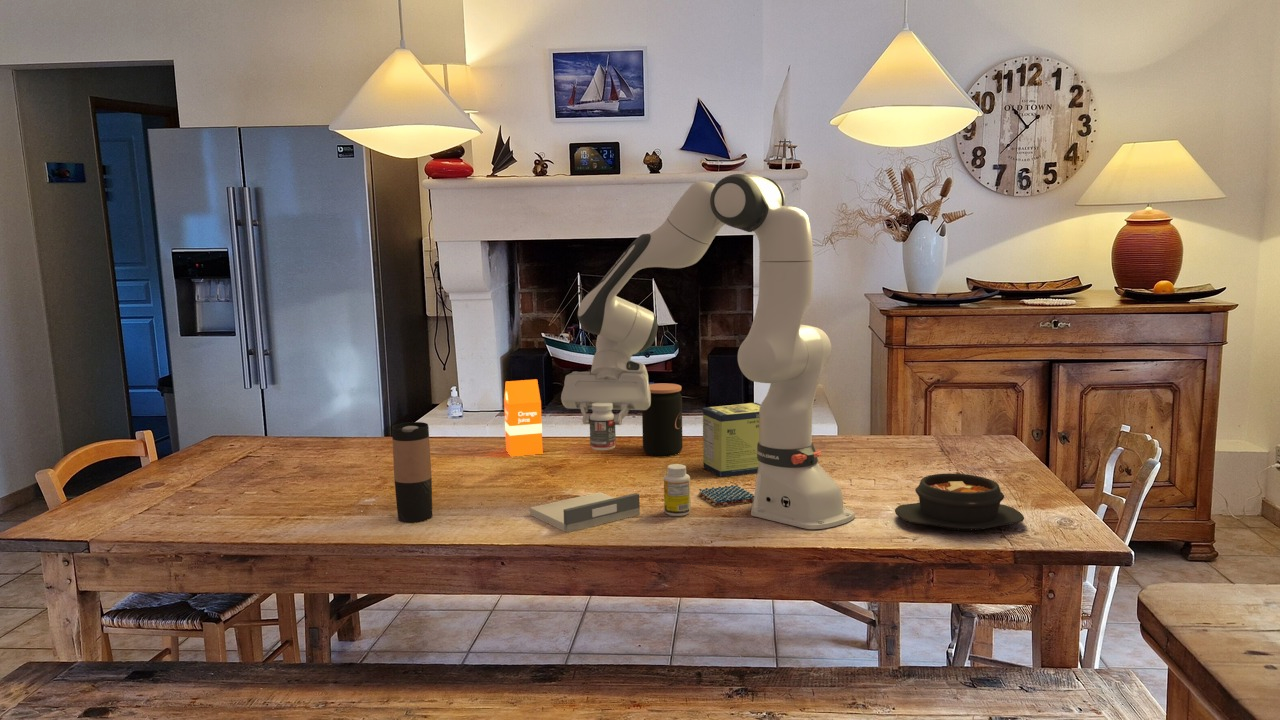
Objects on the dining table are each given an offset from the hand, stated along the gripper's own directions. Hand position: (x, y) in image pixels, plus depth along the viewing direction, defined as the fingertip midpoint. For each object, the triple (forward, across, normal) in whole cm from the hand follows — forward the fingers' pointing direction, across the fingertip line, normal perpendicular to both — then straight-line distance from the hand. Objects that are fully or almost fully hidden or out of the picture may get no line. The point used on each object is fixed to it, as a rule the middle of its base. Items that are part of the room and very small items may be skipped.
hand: (601, 423), depth 206 cm
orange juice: (-15, -31, +41) cm, 54 cm away
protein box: (-8, +28, +34) cm, 44 cm away
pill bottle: (+4, 0, +5) cm, 6 cm away
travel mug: (+25, -37, 0) cm, 45 cm away
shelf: (+20, -2, +4) cm, 21 cm away
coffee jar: (-19, +6, +44) cm, 48 cm away
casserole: (+17, +75, +8) cm, 77 cm away
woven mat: (+10, +27, +16) cm, 33 cm away
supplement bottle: (+18, +18, +7) cm, 26 cm away
